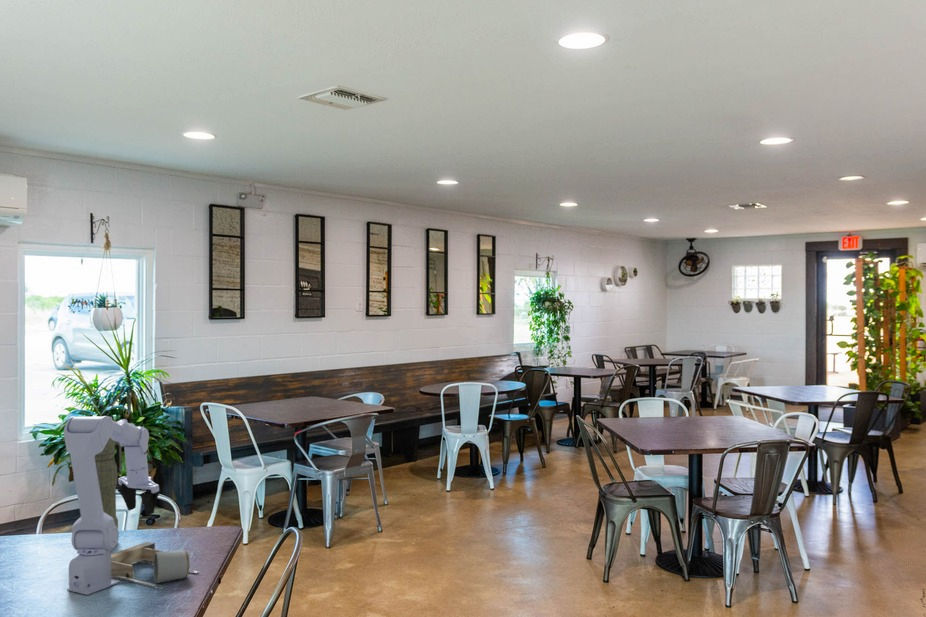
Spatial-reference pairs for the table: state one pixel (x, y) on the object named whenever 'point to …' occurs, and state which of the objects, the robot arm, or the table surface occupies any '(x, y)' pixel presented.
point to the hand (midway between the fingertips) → (140, 511)
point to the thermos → (109, 476)
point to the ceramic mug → (171, 565)
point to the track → (138, 580)
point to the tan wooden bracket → (131, 558)
